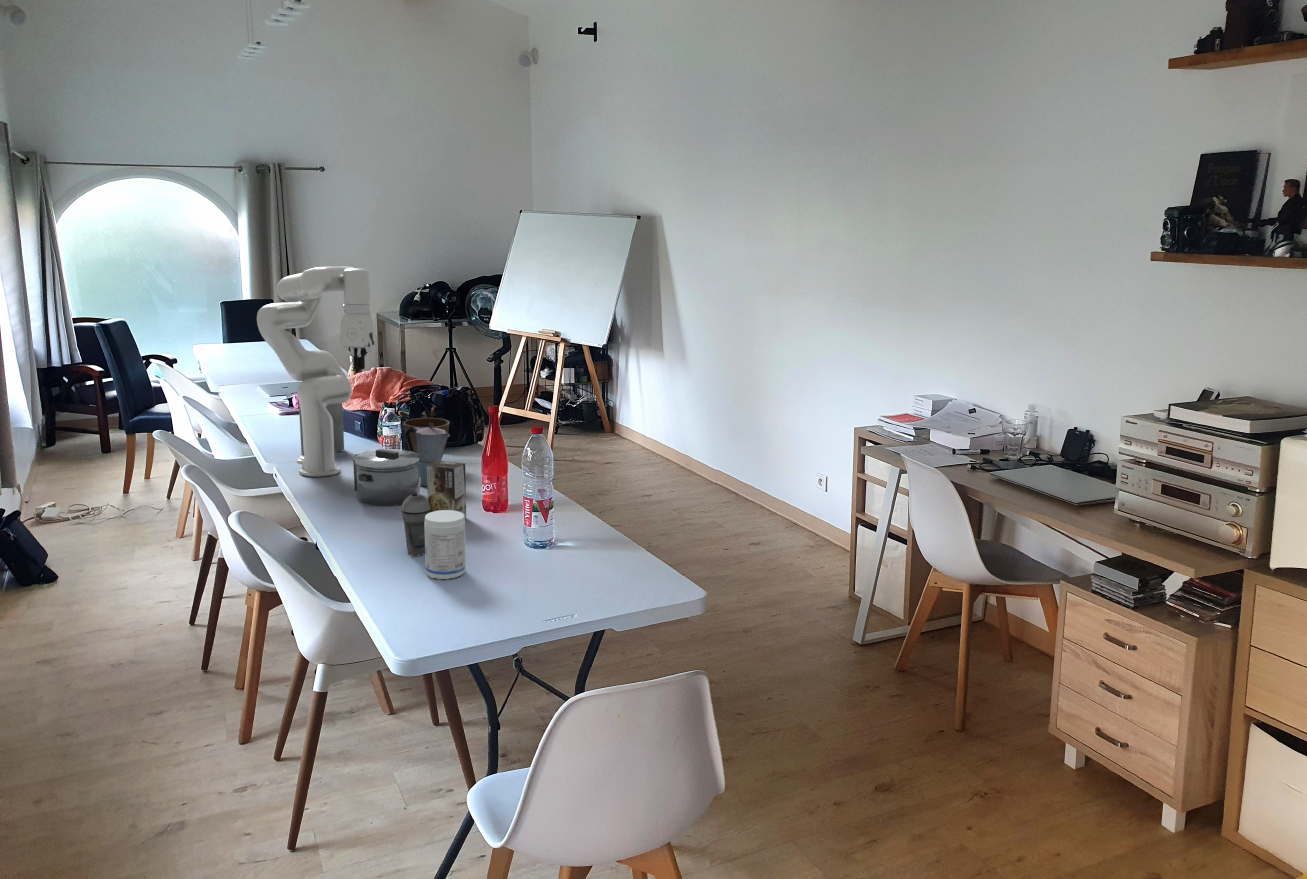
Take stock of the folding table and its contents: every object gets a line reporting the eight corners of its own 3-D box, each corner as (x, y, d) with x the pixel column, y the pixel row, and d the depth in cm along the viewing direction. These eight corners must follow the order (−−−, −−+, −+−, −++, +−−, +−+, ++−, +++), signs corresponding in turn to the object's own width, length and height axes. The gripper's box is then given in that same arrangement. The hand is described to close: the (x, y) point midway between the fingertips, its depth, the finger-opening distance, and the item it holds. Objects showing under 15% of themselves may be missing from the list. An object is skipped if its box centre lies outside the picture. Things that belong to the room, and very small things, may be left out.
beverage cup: (405, 548, 247) (402, 473, 243) (433, 548, 248) (432, 473, 243) (400, 558, 240) (397, 481, 236) (429, 558, 241) (427, 481, 236)
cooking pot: (334, 500, 286) (333, 465, 283) (384, 484, 305) (383, 450, 303) (388, 511, 277) (386, 474, 275) (435, 493, 297) (435, 458, 294)
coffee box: (467, 517, 274) (466, 463, 270) (455, 524, 268) (454, 468, 264) (439, 513, 277) (438, 459, 273) (427, 519, 271) (426, 464, 267)
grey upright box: (341, 447, 350) (338, 393, 346) (346, 451, 346) (343, 396, 341) (299, 452, 342) (296, 397, 337) (303, 455, 337) (300, 399, 333)
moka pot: (444, 489, 302) (443, 427, 297) (399, 485, 304) (397, 423, 300) (456, 481, 311) (455, 421, 306) (412, 477, 314) (410, 417, 309)
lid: (339, 463, 284) (338, 453, 283) (381, 450, 301) (381, 441, 300) (391, 472, 276) (390, 461, 275) (432, 459, 293) (432, 448, 292)
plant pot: (459, 467, 328) (458, 421, 325) (428, 476, 316) (427, 428, 312) (427, 460, 336) (426, 416, 332) (395, 469, 323) (394, 422, 320)
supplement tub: (426, 567, 234) (425, 509, 231) (466, 565, 236) (465, 508, 233) (424, 581, 225) (423, 522, 222) (465, 580, 227) (464, 521, 224)
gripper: (329, 308, 291) (331, 368, 295) (367, 312, 285) (369, 373, 289) (347, 307, 298) (349, 365, 302) (384, 310, 291) (386, 370, 296)
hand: (359, 369), depth 295 cm, fingers closed
